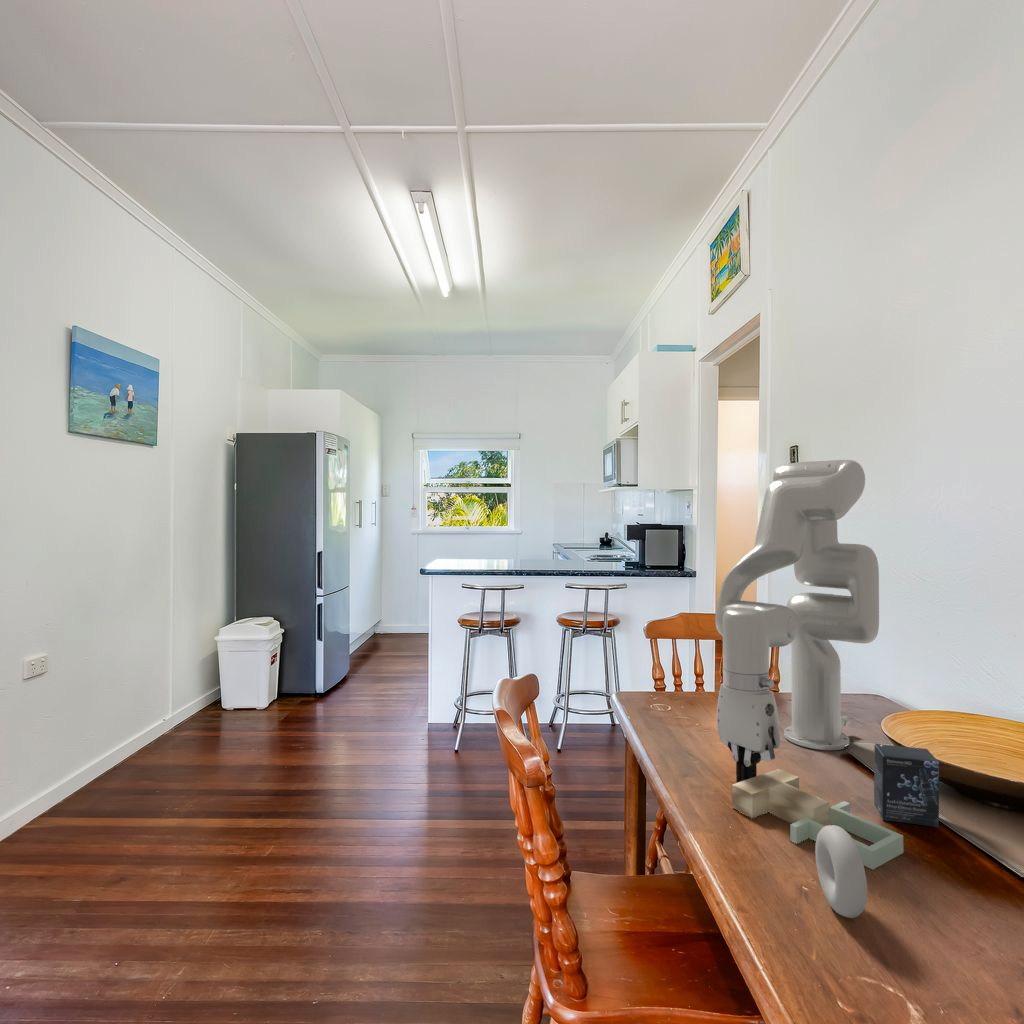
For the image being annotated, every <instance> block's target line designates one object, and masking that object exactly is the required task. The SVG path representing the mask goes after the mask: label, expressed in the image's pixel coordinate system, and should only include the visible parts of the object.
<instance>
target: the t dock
mask: <svg viewBox="0 0 1024 1024" xmlns="http://www.w3.org/2000/svg"><path fill="white" fill-rule="evenodd" d="M829 812H830V823H831V824H830V825H835V826H839V827H841V828H843V829H844V830H845V831H846V832H847V833H848V832H849V833H850V834H852V835H855V836H857V837H860V838H862V839H863V840H866V841H868V842H871V843H873V844H870V846H869V845H868V844H866V843H863V842H861V841H859V840H856V839H855V838H852V839H853V841H854V842H855V844H856V846H857V848H858V850H859V853H860V855H861V858H862V862H863V865H864V867H866V868H868V869H870V870H875V869H877V868H879V867H880V866H882V865H884V864H886V863H887V862H890V861H892V860H893V859H895V858H897V857H899V856H900V855H902V854H904V835H903V834H900V833H898V832H896V831H894V830H891V829H889V828H886V827H884V826H881V825H880V824H877V823H874V822H873V821H870V820H868V819H865V818H863V817H861V816H858V815H856V814H854V813H851V803H850V802H847V801H845V800H844V801H840V802H839V803H836V804H834V805H832V806H829ZM789 824H790V825H789V826H790V828H789V829H790V833H789V834H790V835H789V836H790V837H789V838H790V839H789V840H791V841H792V842H791V841H790V842H791V843H793V842H794V843H793V844H795V843H796V844H795V845H798V844H800V843H802V842H804V841H807V840H811V839H812V840H811V841H813V840H814V841H813V842H815V841H816V840H817V835H818V833H819V832H820V830H821V829H822V828H823V827H825V826H824V825H822V824H820V823H817V822H815V821H813V820H811V819H809V818H807V817H806V818H804V819H802V820H799V821H797V822H795V823H793V824H791V823H789ZM808 838H810V839H808ZM806 839H807V840H806ZM803 840H804V841H803ZM801 841H802V842H801ZM797 843H798V844H797Z"/></svg>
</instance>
